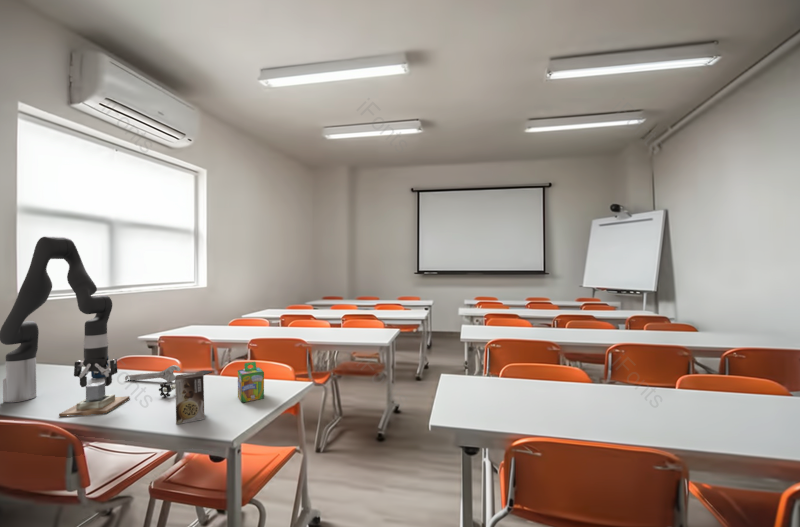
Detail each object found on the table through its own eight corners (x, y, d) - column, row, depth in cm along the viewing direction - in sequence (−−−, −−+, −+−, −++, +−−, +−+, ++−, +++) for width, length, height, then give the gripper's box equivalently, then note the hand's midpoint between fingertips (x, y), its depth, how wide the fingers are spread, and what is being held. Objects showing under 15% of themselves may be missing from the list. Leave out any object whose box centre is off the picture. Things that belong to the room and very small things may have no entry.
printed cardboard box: (204, 413, 141) (203, 371, 142) (204, 419, 136) (204, 375, 136) (176, 418, 137) (175, 374, 137) (175, 424, 131) (174, 379, 132)
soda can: (96, 375, 194) (96, 352, 194) (111, 375, 195) (111, 352, 195) (88, 379, 187) (87, 355, 187) (103, 378, 188) (103, 355, 189)
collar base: (59, 417, 140) (59, 408, 140) (87, 401, 156) (87, 393, 156) (106, 413, 143) (106, 404, 143) (129, 399, 158) (129, 391, 158)
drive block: (85, 407, 147) (85, 386, 147) (93, 403, 151) (93, 383, 151) (98, 406, 147) (98, 385, 147) (105, 402, 152) (105, 382, 152)
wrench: (128, 385, 186) (182, 380, 182) (125, 387, 184) (179, 382, 180) (127, 369, 186) (180, 364, 182) (123, 370, 185) (177, 365, 180)
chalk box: (241, 403, 152) (241, 366, 152) (237, 397, 159) (236, 362, 159) (264, 398, 157) (264, 363, 157) (259, 392, 164) (259, 359, 165)
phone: (213, 371, 198) (187, 379, 184) (213, 373, 198) (187, 380, 184) (203, 370, 201) (177, 377, 187) (203, 371, 201) (177, 379, 187)
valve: (183, 388, 172) (158, 397, 161) (183, 374, 172) (158, 382, 161) (194, 390, 169) (169, 399, 158) (194, 375, 170) (169, 383, 158)
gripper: (69, 348, 144) (69, 390, 144) (110, 346, 147) (110, 388, 147) (82, 344, 152) (82, 384, 152) (121, 343, 154) (121, 382, 154)
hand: (96, 386), depth 149 cm, fingers open, 8 cm apart
